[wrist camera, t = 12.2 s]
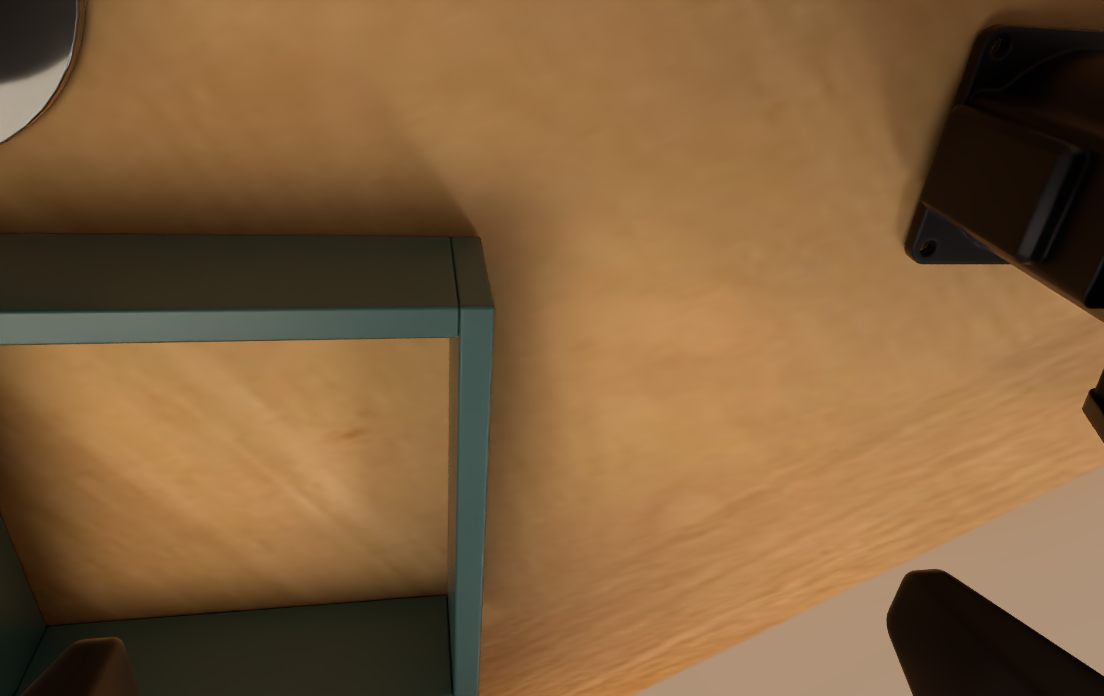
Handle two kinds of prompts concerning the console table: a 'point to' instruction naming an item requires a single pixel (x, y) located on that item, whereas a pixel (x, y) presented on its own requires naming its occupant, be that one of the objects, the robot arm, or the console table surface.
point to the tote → (271, 315)
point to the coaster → (35, 57)
